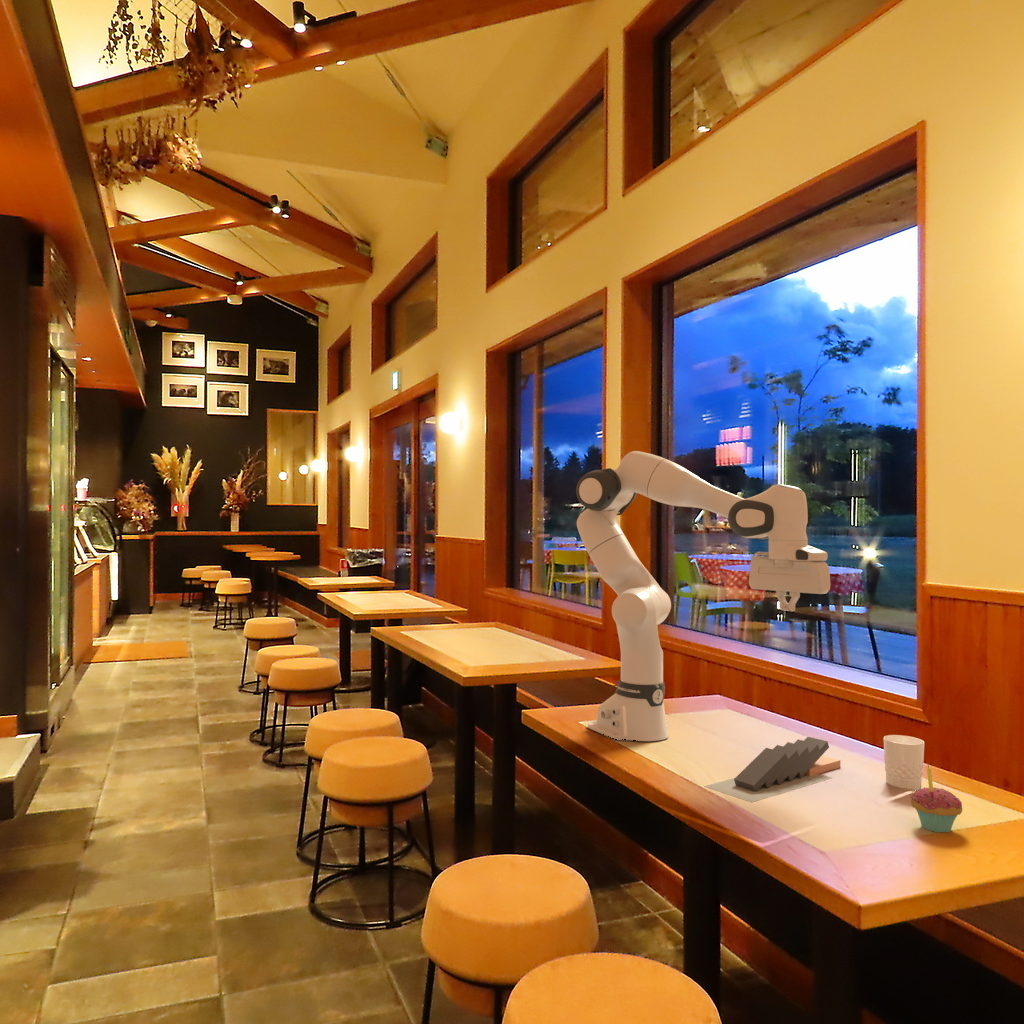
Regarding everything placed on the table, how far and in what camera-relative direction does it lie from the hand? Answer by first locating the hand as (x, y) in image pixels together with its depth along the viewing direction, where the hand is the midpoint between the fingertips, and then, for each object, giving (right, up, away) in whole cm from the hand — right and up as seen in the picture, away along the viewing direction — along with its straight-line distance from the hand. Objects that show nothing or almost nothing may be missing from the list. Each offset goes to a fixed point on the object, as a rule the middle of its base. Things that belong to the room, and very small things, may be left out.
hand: (787, 610), depth 193 cm
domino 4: (-8, -34, -17) cm, 39 cm away
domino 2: (-14, -34, -22) cm, 42 cm away
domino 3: (-11, -34, -20) cm, 40 cm away
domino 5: (-5, -34, -15) cm, 37 cm away
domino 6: (-2, -34, -13) cm, 36 cm away
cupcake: (+13, -35, -43) cm, 57 cm away
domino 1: (-17, -33, -24) cm, 45 cm away
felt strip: (-11, -35, -20) cm, 41 cm away
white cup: (+18, -36, -19) cm, 44 cm away
